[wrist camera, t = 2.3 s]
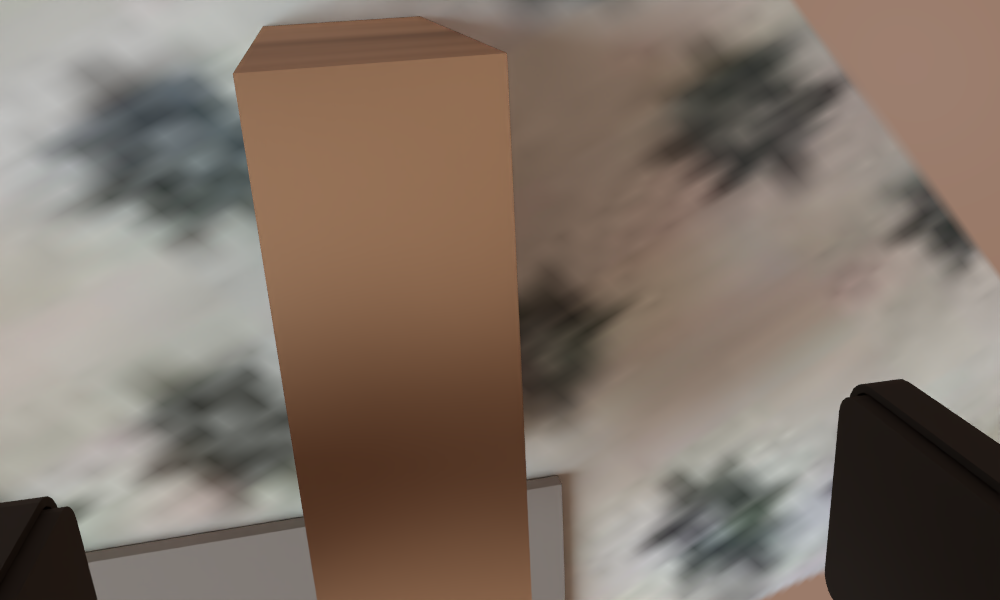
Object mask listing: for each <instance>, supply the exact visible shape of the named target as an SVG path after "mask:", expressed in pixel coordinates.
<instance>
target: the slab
mask: <svg viewBox="0 0 1000 600" xmlns="http://www.w3.org/2000/svg"><path fill="white" fill-rule="evenodd" d="M233 77H234V83H235V90H236V96H237V102H238V108H239V115H240V121H241V127H242V133H243V140H244V146H245V152H246V158H247V165H248V171H249V177H250V183H251V190H252V196H253V202H254V209H255V215H256V221H257V227H258V234H259V240H260V246H261V252H262V259H263V265H264V271H265V277H266V284H267V290H268V296H269V302H270V309H271V315H272V321H273V327H274V334H275V340H276V346H277V353H278V359H279V365H280V371H281V378H282V384H283V390H284V396H285V403H286V409H287V415H288V421H289V428H290V434H291V440H292V446H293V453H294V459H295V465H296V471H297V478H298V484H299V490H300V497H301V503H302V509H303V515H304V522H305V528H306V534H307V540H308V547H309V553H310V559H311V565H312V572H313V578H314V584H315V590H316V597H317V600H532V591H531V569H530V548H529V526H528V504H527V482H526V460H525V438H524V416H523V394H522V372H521V350H520V328H519V306H518V284H517V262H516V240H515V219H514V197H513V175H512V153H511V131H510V109H509V87H508V65H507V53H505V52H503V51H501V50H498V49H496V48H494V47H491V46H489V45H486V44H484V43H482V42H479V41H477V40H474V39H472V38H470V37H467V36H465V35H463V34H460V33H458V32H455V31H453V30H451V29H448V28H446V27H444V26H441V25H439V24H436V23H434V22H432V21H429V20H427V19H425V18H422V17H420V16H417V17H401V18H386V19H371V20H355V21H340V22H325V23H310V24H294V25H279V26H264V27H262V29H261V30H260V32H259V34H258V35H257V37H256V38H255V40H254V41H253V43H252V45H251V46H250V48H249V49H248V51H247V52H246V54H245V55H244V57H243V59H242V60H241V62H240V63H239V65H238V66H237V68H236V70H235V71H234V73H233Z"/></svg>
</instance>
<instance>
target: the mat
mask: <svg viewBox="0 0 1000 600" xmlns="http://www.w3.org/2000/svg"><path fill="white" fill-rule="evenodd" d="M526 482H527V504H528V526H529V548H530V569H531V591H532V600H565V579H564V544H563V509H562V484H561V482H560V480H559V478H558V476H552V477H546V478H540V479H534V480H527V481H526ZM85 554H86V558H87V561H88V565H89V569H90V573H91V577H92V580H93V584H94V588H95V592H96V596H97V599H98V600H317V597H316V590H315V584H314V578H313V572H312V565H311V559H310V553H309V547H308V540H307V534H306V528H305V522H304V517H301V518H295V519H289V520H283V521H276V522H270V523H264V524H258V525H252V526H246V527H240V528H234V529H228V530H221V531H215V532H209V533H203V534H197V535H191V536H185V537H179V538H172V539H166V540H160V541H154V542H148V543H142V544H136V545H130V546H123V547H117V548H111V549H105V550H99V551H93V552H87V553H85Z"/></svg>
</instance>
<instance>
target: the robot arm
mask: <svg viewBox="0 0 1000 600" xmlns="http://www.w3.org/2000/svg"><path fill="white" fill-rule="evenodd" d="M825 579H826V584H827V587H828V591H829V593H830V595H831V597H832V598H833V600H1000V444H999V443H997V442H996V441H994V440H993V439H991V438H990V437H988V436H987V435H986V434H984V433H983V432H981V431H980V430H978V429H977V428H975V427H974V426H972V425H971V424H969V423H968V422H967V421H965V420H964V419H962V418H961V417H959V416H958V415H956V414H955V413H953V412H952V411H950V410H949V409H947V408H946V407H945V406H943V405H942V404H940V403H939V402H937V401H936V400H934V399H933V398H931V397H930V396H928V395H927V394H925V393H924V392H923V391H921V390H920V389H918V388H917V387H915V386H914V385H912V384H911V383H909V382H907V381H905V380H903V379H898V380H890V381H882V382H875V383H868V384H861V385H858V386H856V387H855V388H854V389H853V391H852V393H851V395H850V397H848V398H845V399H844V400H843V401H842V403H841V405H840V410H839V419H838V430H837V442H836V453H835V464H834V475H833V486H832V497H831V508H830V519H829V530H828V541H827V552H826V563H825ZM0 600H98V599H97V596H96V592H95V588H94V584H93V580H92V577H91V573H90V569H89V565H88V561H87V558H86V554H85V550H84V546H83V542H82V539H81V535H80V531H79V527H78V523H77V520H76V517H75V514H74V512H73V510H72V509H71V508H70V507H61V508H57V505H56V503H55V502H54V500H53V499H52V498H50V497H48V496H47V497H40V498H32V499H25V500H18V501H11V502H3V503H0Z"/></svg>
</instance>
